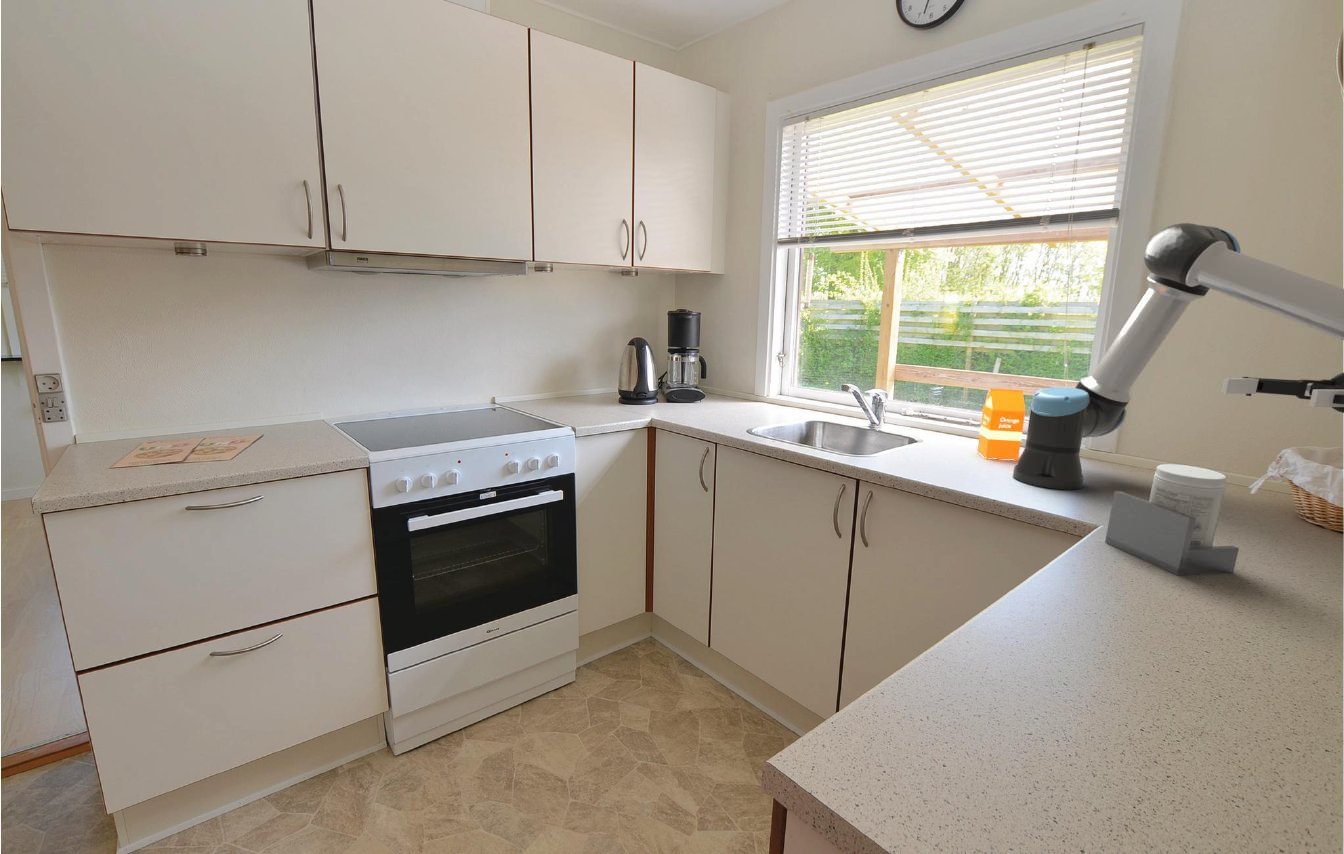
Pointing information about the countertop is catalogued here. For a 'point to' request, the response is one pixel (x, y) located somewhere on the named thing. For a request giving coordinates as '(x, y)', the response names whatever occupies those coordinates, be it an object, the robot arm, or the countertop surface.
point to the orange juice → (1002, 424)
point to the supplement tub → (1191, 497)
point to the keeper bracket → (1163, 538)
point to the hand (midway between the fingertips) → (1266, 391)
